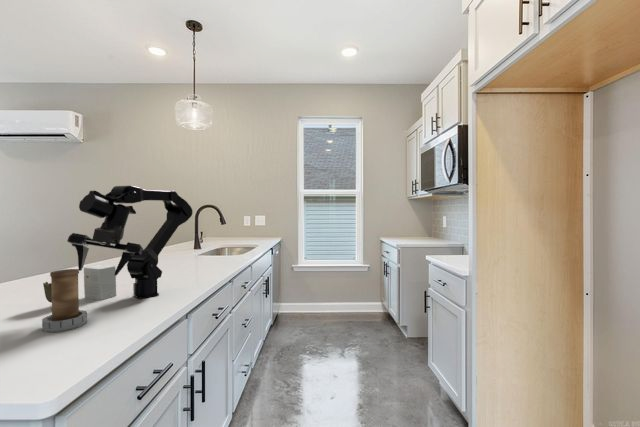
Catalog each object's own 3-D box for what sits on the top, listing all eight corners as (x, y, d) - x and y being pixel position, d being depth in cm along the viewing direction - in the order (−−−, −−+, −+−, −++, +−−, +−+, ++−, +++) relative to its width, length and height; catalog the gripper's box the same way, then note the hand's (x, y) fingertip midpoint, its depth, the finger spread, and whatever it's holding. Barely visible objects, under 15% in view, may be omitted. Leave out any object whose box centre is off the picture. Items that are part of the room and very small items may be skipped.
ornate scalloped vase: (56, 311, 92) (56, 284, 92) (37, 309, 94) (36, 283, 93) (80, 303, 99) (80, 278, 99) (62, 302, 101) (61, 277, 101)
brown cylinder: (82, 316, 85) (81, 268, 85) (77, 323, 80) (76, 272, 80) (54, 319, 82) (54, 270, 82) (47, 327, 77) (46, 274, 77)
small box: (116, 296, 108) (116, 265, 108) (100, 300, 103) (100, 268, 103) (100, 293, 111) (99, 264, 111) (83, 298, 106) (83, 267, 105)
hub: (84, 316, 88) (84, 308, 87) (89, 325, 81) (89, 316, 81) (41, 325, 81) (41, 315, 81) (43, 335, 75) (42, 325, 75)
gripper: (71, 209, 87) (49, 264, 82) (144, 223, 93) (128, 275, 88) (83, 219, 97) (64, 268, 92) (148, 231, 103) (134, 278, 98)
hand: (97, 273), depth 92 cm, fingers open, 9 cm apart
